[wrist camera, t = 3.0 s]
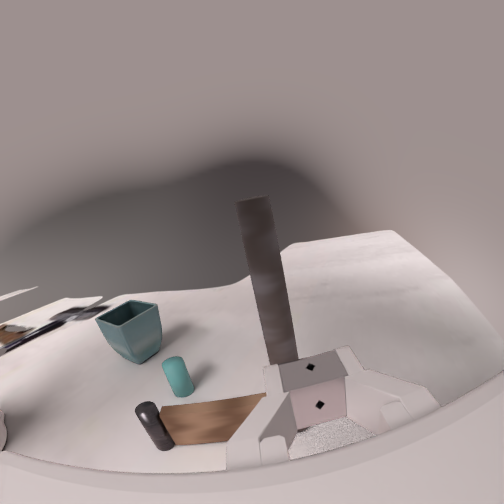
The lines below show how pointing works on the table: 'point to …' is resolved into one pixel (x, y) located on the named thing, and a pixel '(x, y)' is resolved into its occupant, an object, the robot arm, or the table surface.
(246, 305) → the table surface
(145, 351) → the flower pot
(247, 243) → the brown board with post
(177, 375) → the post
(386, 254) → the table surface
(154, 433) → the hinge post
